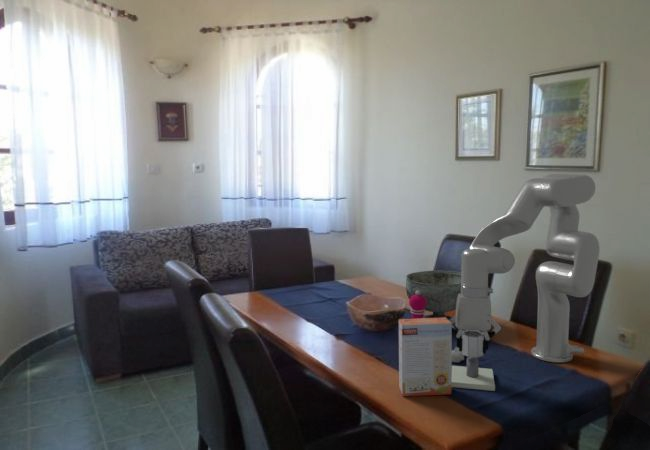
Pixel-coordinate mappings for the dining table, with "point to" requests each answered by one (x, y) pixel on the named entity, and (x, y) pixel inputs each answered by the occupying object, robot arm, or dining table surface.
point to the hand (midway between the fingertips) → (472, 350)
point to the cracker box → (425, 356)
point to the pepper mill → (417, 305)
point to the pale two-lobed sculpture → (457, 355)
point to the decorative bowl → (436, 290)
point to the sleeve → (472, 343)
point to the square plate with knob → (472, 376)
